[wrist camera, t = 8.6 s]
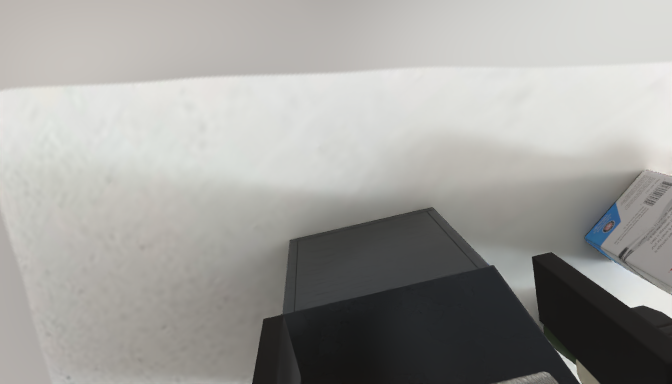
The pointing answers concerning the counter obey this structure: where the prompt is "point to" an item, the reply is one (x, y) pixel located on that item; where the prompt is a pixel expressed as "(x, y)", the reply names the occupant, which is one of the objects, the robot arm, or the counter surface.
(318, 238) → the bin
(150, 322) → the counter surface
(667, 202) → the ink box
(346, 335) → the bin lid
